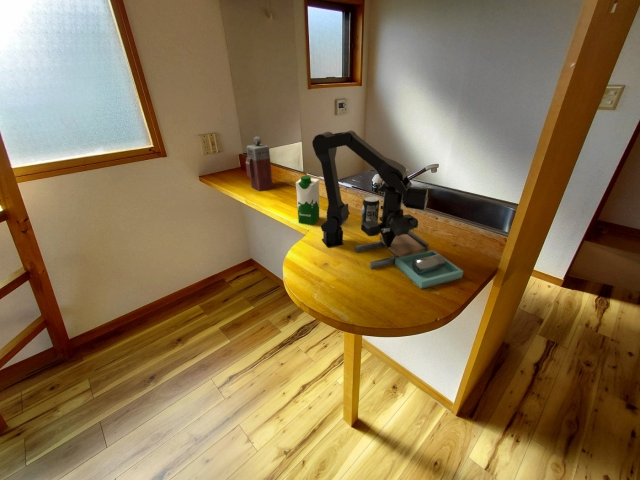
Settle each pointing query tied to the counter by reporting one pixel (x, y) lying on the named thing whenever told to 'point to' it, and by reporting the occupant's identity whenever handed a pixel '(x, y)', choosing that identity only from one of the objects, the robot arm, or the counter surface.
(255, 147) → the maroon lidded pitcher
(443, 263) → the roller
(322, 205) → the counter surface
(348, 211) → the robot arm
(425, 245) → the track
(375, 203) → the beverage can
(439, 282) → the tray
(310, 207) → the milk carton
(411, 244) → the board
